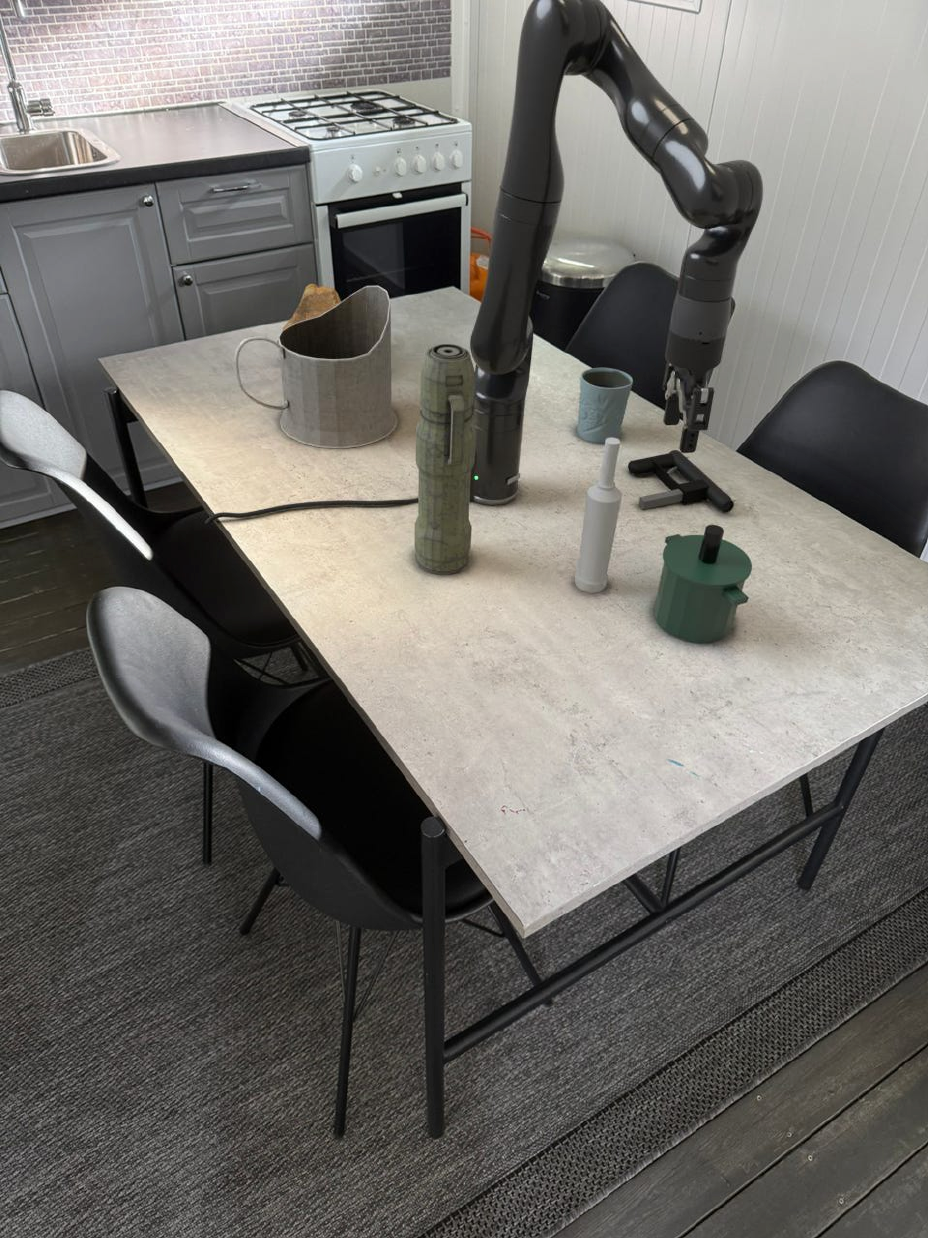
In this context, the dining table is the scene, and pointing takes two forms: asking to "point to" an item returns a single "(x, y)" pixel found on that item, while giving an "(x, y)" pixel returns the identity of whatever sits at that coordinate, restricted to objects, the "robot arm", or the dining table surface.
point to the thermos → (445, 460)
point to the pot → (695, 607)
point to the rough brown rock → (314, 303)
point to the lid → (707, 559)
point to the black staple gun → (685, 493)
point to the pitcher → (337, 373)
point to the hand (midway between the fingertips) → (678, 437)
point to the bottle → (599, 524)
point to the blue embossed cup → (602, 403)
